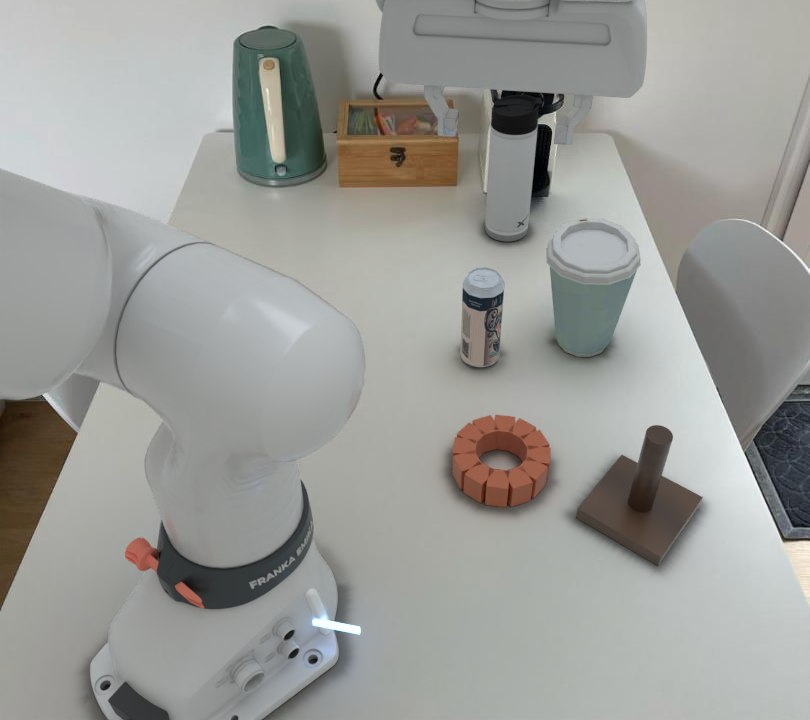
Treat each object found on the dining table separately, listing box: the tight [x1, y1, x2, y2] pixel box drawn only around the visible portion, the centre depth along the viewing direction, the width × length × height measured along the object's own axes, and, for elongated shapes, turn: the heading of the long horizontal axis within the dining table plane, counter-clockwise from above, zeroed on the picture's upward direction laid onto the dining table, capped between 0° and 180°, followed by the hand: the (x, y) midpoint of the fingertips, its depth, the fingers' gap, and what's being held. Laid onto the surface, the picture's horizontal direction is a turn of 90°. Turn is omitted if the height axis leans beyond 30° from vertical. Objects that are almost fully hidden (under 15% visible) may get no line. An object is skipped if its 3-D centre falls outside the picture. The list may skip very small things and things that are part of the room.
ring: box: [451, 414, 552, 508], centre depth 85 cm, size 10×10×3 cm
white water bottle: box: [484, 94, 543, 243], centre depth 112 cm, size 6×7×20 cm
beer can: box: [459, 266, 506, 368], centre depth 95 cm, size 5×5×12 cm
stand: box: [575, 424, 703, 567], centre depth 77 cm, size 9×9×12 cm
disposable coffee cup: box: [545, 217, 642, 358], centre depth 96 cm, size 11×11×15 cm
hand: (504, 137), depth 66 cm, fingers open, 8 cm apart
